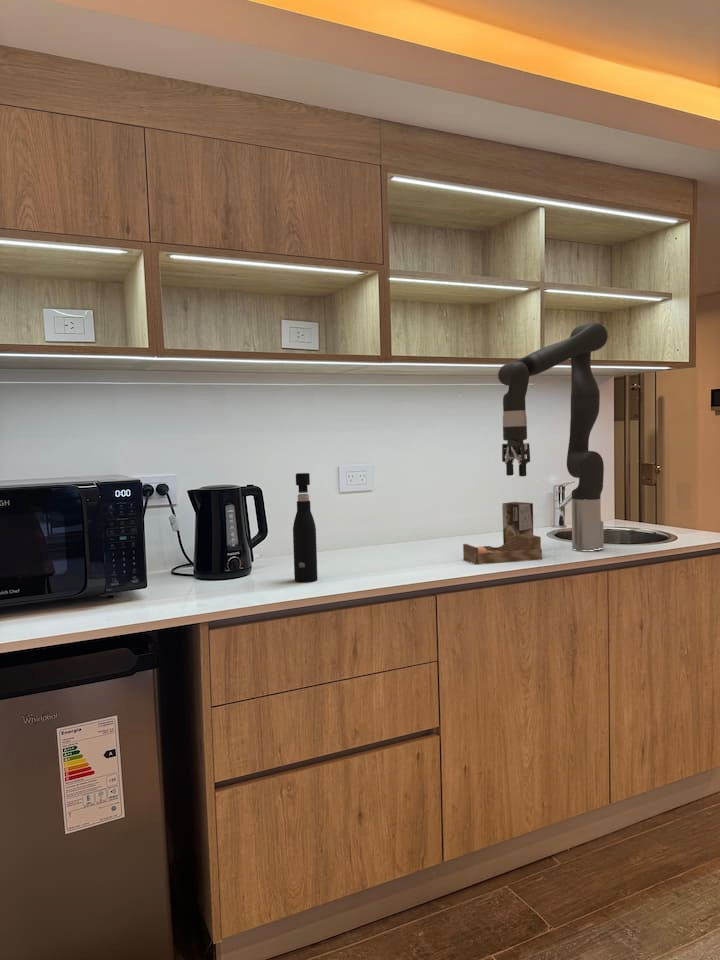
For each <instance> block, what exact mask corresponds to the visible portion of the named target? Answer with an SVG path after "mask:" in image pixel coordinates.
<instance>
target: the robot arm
mask: <svg viewBox="0 0 720 960" xmlns="http://www.w3.org/2000/svg"><path fill="white" fill-rule="evenodd" d="M608 335H609V333H608V330H607V329H606V327H605V326H604V325H603V324H601V323H599V322H590V323H585V324H582V325H579V326H576V327H575V328H573V330H572V331H571V333H570V335H569V337H568V338H566V339H564V340H561V341H558V342H555V343H553V344H550V345H547V346H544V347H542V348H540V349H537V350H536V351H533V352H531V353H529V354H528V355H525V356H523V357H520V358H518V359H515V360H513V361H509V362H508V363H505V364H504V365H502V366H501V367H500V369H499V370H498V373H497V377H498V380H499V382H500V383H501V384H503V385H505V386H508V390H507V392H506V393H504V395H503V396H502V411H503V412H502V438H503V439H502V440H503V441H507V443H502V444H501V447H502V448H501V450H502V451H501V454H502V455H501V457H502V459H501V461H502V463H504V464H505V466H506V467H505V468H506V470H505V473H506V476H507V477H508V476H509V477H510V476H514V460H516V461H517V463H518V476H519V477H526V476H527V464H528V463H531V453H530V451H531V450H530V443H529V442H527V443H525V442H524V441H525V440H527V439H528V422H527V421H528V420H527V419H528V418H527V410H526V408H527V407H526V396H527V391H528V386H529V383H530V381H529V380H530V377H532V376H536V375H539V374H541V373H544V372H545V371H548V370H550V369H552V368H553V367H557V365H559V364H561V363H563V362H565V361H568V360H569V359H570V368H571V369H570V370H571V372H570V376H571V377H570V380H571V381H570V382H571V385H570V386H571V387H570V388H571V391H570V420H569V421H570V422H569V438H568V446H567V447H568V448H567V454H566V455H567V456H566V470H567V472H568V474H569V475H570V476H571V477H573V478H574V479H575V478H576V479H578V484H577V486H576V487H575V488H574V489H573V490H572V491H571V546H572V547H571V549H572V550H573V549H576V550H594V549H599V548H603V547H604V546H605V545H604V543H605V542H604V539H605V538H604V534H605V533H604V521H603V520H602V519H601V518H602V517H601V516H602V514H601V509H602V508H601V507H602V506H601V505H602V504H601V501H602V499H601V498H602V497H601V494H602V492H603V489H604V475H605V473H604V472H605V470H604V469H605V467H604V466H605V465H604V461H603V460H604V458H602V455H601V454H600V453H599V452H597V451H594V450H589V441H590V435H591V432H592V430H593V427H594V425H595V423H596V421H597V419H598V417H599V413H600V403H601V402H600V400H601V397H600V395H601V393H600V388H599V385H598V382H597V381H596V378H595V376H594V374H593V372H592V371H593V370H592V367H591V365H592V363H591V357H592V356H591V355H592V353H593V352H595V351H599V350H600V349H602V348H604V346H605V345H606V343H607V342H608V337H609V336H608ZM604 548H605V547H604ZM576 550H575V551H576Z"/></svg>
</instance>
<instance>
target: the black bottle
mask: <svg viewBox="0 0 720 960" xmlns="http://www.w3.org/2000/svg"><path fill="white" fill-rule="evenodd" d="M310 474H311V473H309V472H299V473H295V485H296V486H298V494H297V501H296V514H295V517H294V520H293V526H292V543H293V544H292V545H293V567H294V568H293V569H294V572H293V574H294V576H293V577H294V582H296V583H303V584H304V583H305V584H306V583H313V582H317V581H318V579H319V578H318V554H317V553H318V552H317V549H318V548H317V527H316V523H315V520H314V516H313V514H312V511H311V500H310V495H309V493H308V492H309V491H308V486H310V485H311V482H310V481H311V479H310Z"/></svg>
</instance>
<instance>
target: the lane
mask: <svg viewBox="0 0 720 960" xmlns="http://www.w3.org/2000/svg"><path fill="white" fill-rule="evenodd" d="M541 539H542V538H541V536H538V535H535V534H533V535H531V534H518V535H517V536H515V538H512V540H510V541H507V543H504V545H503V544H501V546H497V547H494V546H493V547H494V548H485V549H486V550H487V552H488V553H478V548H477V547H478V546H473V545H471V544H469V543H463V544H462V547H463V548H462V550H463V552H462V553H463V557H462V559H463V560H464V561H466V560H467V561H466V562H468V561H469V562H468V563H471V562H472V563H471V564H473V563H474V565H483V564H482V563H487V564H498V563H499V562H500V563H509V562H510V563H512V562H525V560H527V561H537V560H538V559H540V560H542V559H543V551H542V543H541V542H542V540H541Z"/></svg>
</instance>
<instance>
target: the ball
mask: <svg viewBox="0 0 720 960" xmlns="http://www.w3.org/2000/svg"><path fill="white" fill-rule="evenodd" d="M476 547H477V548H478V553H488V552H487V550H486V549H485V548H484V547H482V546H476Z"/></svg>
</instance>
